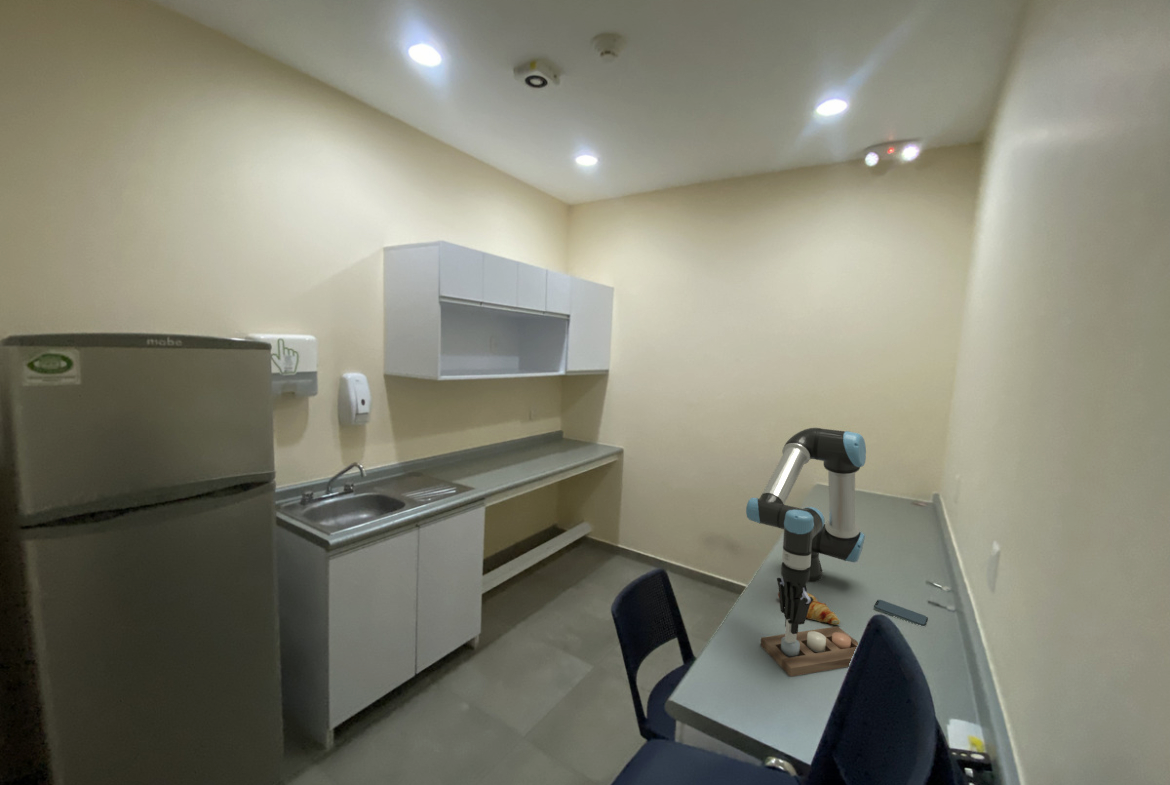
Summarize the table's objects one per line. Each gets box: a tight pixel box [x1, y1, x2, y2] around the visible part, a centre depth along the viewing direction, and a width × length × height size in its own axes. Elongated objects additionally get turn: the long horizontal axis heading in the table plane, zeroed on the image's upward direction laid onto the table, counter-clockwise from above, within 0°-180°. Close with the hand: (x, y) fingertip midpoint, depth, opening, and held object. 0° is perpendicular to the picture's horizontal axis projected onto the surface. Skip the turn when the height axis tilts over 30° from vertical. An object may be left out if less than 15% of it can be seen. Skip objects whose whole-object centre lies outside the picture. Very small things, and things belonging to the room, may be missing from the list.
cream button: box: [807, 631, 826, 653], centre depth 140 cm, size 5×5×4 cm
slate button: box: [781, 637, 800, 658], centre depth 138 cm, size 5×5×4 cm
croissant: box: [777, 591, 841, 626], centre depth 162 cm, size 21×10×8 cm, turn 42°
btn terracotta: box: [832, 632, 851, 649], centre depth 142 cm, size 5×5×4 cm
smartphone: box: [873, 599, 929, 627], centre depth 162 cm, size 8×2×15 cm
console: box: [760, 625, 858, 678], centre depth 140 cm, size 14×28×2 cm, turn 104°
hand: (790, 641), depth 138 cm, fingers closed
